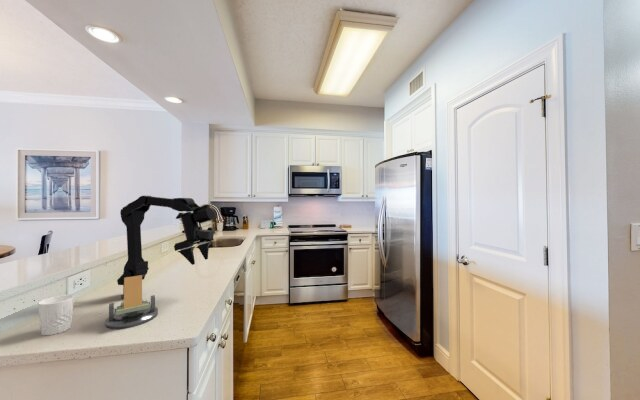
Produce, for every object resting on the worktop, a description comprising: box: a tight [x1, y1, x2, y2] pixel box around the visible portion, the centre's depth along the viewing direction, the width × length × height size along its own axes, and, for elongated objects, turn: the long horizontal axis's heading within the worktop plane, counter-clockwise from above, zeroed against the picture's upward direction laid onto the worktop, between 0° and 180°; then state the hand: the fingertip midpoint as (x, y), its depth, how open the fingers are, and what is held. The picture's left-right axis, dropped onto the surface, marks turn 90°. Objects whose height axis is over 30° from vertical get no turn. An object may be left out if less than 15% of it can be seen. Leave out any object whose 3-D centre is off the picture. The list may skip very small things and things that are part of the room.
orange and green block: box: [114, 275, 151, 315], centre depth 90 cm, size 14×10×11 cm
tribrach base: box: [104, 295, 159, 330], centre depth 89 cm, size 15×15×6 cm
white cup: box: [38, 294, 75, 336], centre depth 80 cm, size 8×8×10 cm
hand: (200, 261), depth 105 cm, fingers open, 9 cm apart
